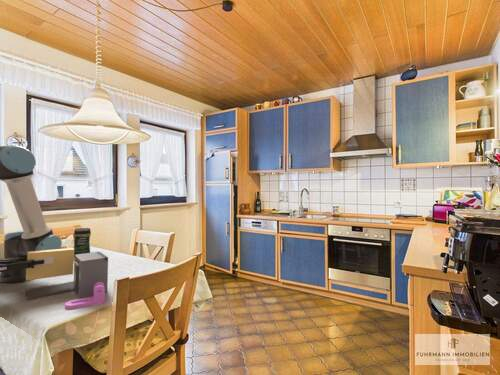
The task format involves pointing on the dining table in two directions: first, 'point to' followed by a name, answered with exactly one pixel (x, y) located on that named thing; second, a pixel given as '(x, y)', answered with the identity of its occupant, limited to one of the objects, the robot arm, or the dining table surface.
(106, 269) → the dispenser
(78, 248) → the coffee jar
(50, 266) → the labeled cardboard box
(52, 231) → the robot arm
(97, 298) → the bracket
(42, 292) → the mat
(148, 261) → the dining table surface
